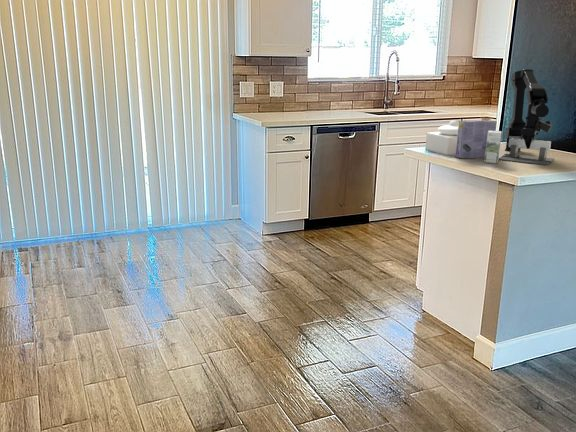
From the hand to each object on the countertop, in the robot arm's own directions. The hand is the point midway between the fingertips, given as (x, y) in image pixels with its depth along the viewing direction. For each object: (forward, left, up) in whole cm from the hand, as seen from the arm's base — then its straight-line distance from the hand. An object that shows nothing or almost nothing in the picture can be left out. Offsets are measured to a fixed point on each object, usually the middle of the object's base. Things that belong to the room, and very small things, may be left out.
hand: (528, 148), depth 264 cm
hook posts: (0, 0, -5) cm, 5 cm away
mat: (0, -8, -5) cm, 10 cm away
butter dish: (-37, -1, -6) cm, 38 cm away
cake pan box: (-22, -11, -6) cm, 25 cm away
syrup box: (-12, -20, -5) cm, 24 cm away
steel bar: (0, 0, 0) cm, 0 cm away
